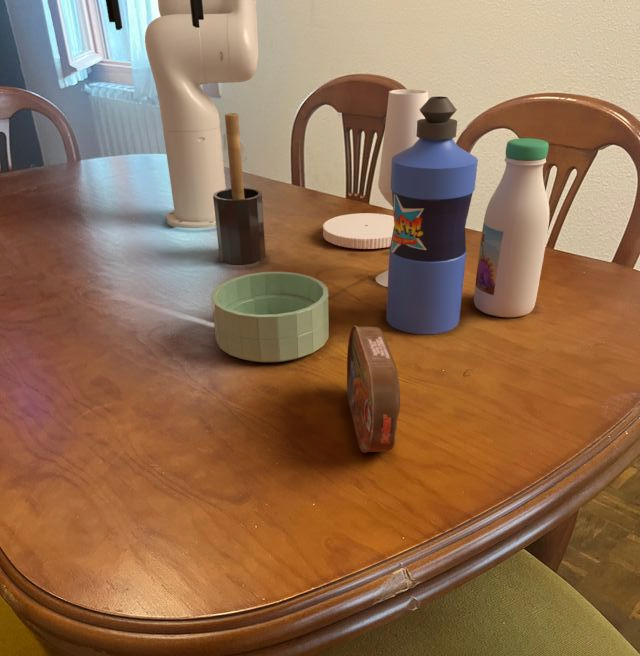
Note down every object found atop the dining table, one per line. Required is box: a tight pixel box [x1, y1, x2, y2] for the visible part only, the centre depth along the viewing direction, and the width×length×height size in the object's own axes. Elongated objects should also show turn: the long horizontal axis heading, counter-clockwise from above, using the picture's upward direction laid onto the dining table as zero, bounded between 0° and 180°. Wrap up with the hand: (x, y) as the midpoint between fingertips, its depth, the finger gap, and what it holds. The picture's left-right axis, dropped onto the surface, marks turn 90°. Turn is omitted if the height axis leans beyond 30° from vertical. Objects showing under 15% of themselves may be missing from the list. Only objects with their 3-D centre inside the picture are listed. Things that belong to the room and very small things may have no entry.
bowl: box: [210, 271, 330, 364], centre depth 76 cm, size 13×13×6 cm
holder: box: [213, 187, 267, 266], centre depth 98 cm, size 7×7×10 cm
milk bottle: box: [473, 137, 551, 318], centre depth 79 cm, size 8×8×20 cm
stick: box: [224, 112, 245, 200], centre depth 95 cm, size 2×2×20 cm
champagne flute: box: [375, 88, 429, 288], centre depth 87 cm, size 7×7×24 cm
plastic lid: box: [322, 212, 394, 250], centre depth 107 cm, size 14×14×2 cm
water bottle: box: [386, 95, 479, 335], centre depth 75 cm, size 9×9×25 cm
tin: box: [346, 325, 401, 454], centre depth 60 cm, size 15×3×8 cm, turn 5°
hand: (158, 28), depth 84 cm, fingers open, 9 cm apart
